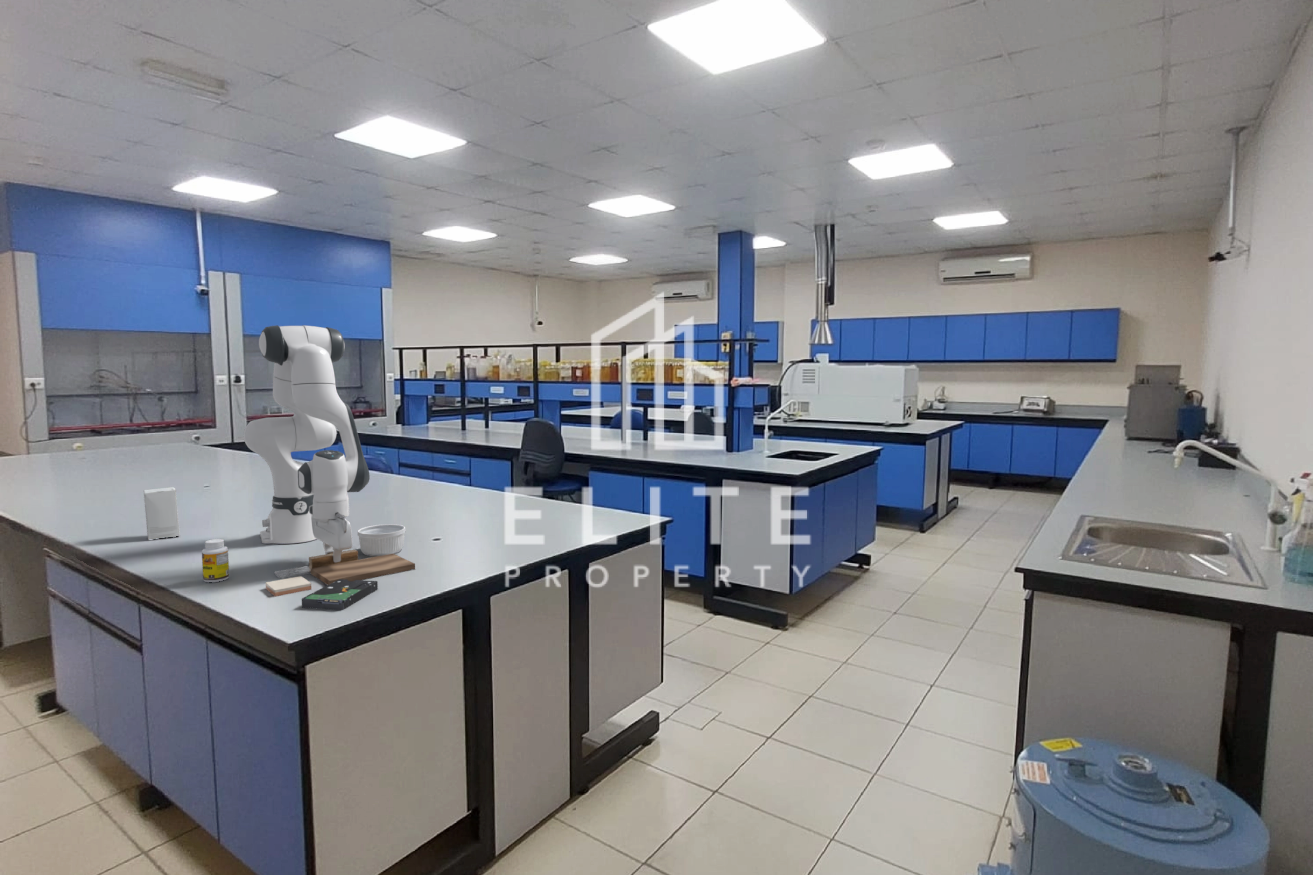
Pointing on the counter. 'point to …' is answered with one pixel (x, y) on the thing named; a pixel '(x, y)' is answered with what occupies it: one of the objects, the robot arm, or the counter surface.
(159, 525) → the skincare box
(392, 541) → the ramekin
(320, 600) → the disk drive
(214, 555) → the supplement bottle
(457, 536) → the counter surface
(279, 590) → the tile
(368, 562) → the board
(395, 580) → the counter surface
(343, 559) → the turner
